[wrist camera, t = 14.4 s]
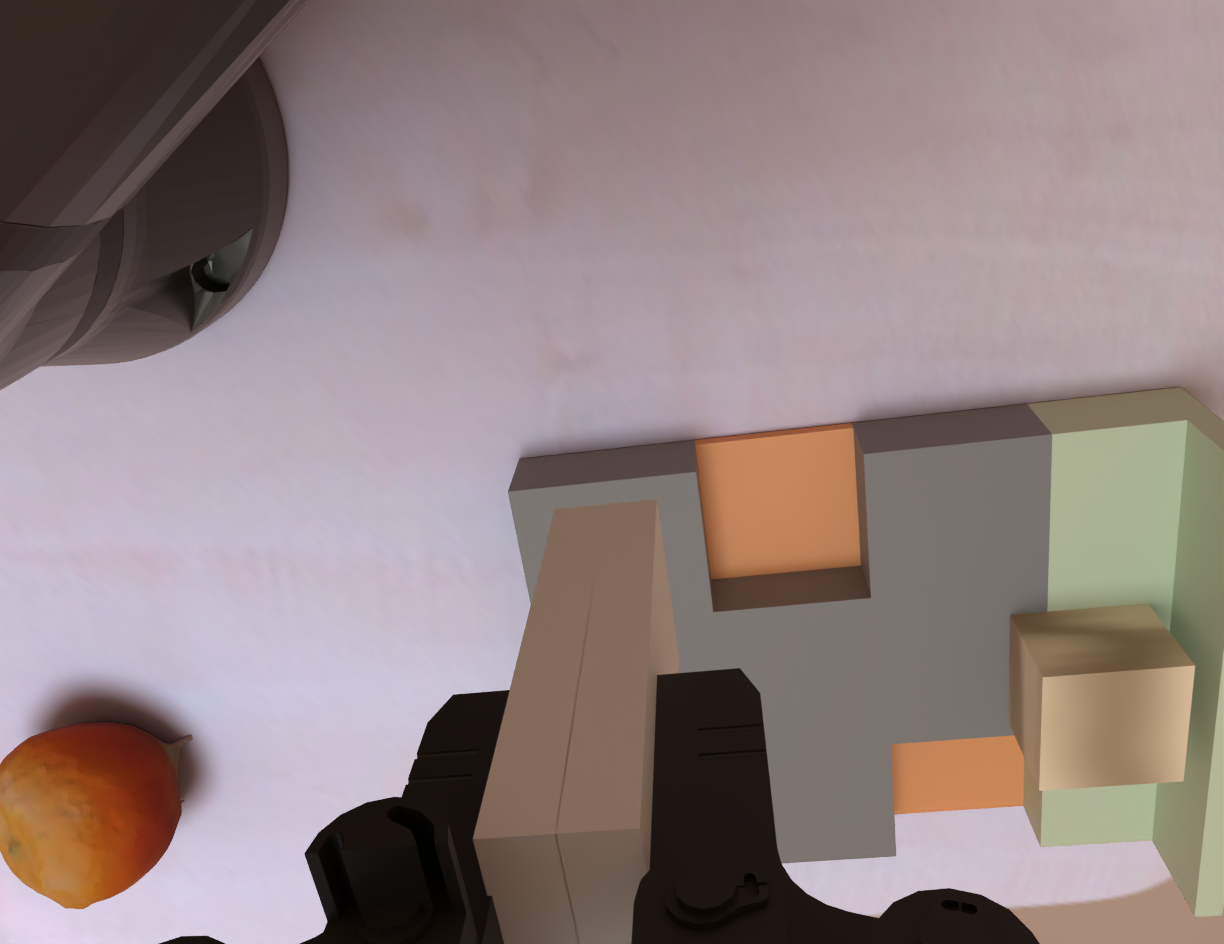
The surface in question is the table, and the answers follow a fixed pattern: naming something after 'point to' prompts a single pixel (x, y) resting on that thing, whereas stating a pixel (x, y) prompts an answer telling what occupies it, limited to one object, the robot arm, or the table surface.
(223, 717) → the table surface
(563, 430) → the table surface
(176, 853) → the table surface
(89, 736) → the fruit
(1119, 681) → the block
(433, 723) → the robot arm
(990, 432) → the box
